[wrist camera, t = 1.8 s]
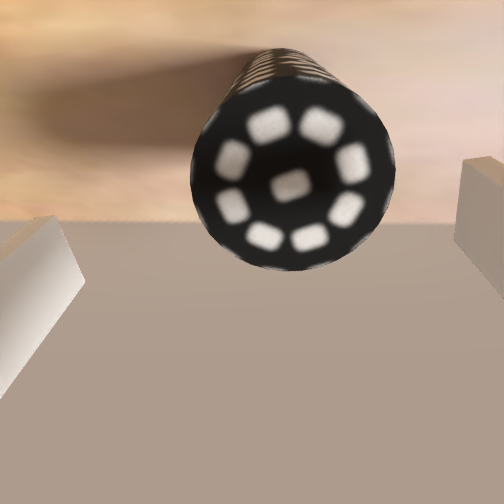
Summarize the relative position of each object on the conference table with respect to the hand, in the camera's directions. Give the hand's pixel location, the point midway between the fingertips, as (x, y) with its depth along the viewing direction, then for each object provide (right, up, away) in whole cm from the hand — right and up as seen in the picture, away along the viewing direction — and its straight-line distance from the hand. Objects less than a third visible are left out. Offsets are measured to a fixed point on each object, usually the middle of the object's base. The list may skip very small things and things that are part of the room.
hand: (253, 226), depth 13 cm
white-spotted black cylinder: (+2, +12, +20) cm, 24 cm away
